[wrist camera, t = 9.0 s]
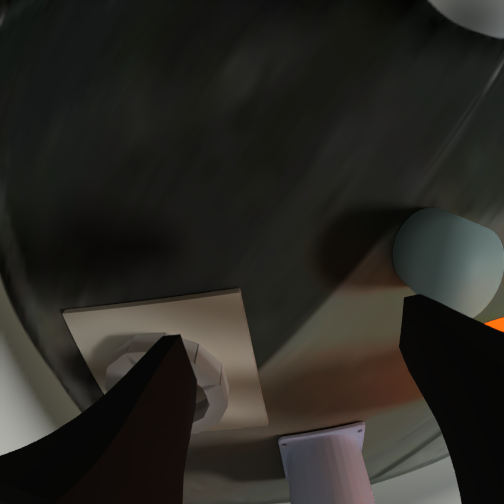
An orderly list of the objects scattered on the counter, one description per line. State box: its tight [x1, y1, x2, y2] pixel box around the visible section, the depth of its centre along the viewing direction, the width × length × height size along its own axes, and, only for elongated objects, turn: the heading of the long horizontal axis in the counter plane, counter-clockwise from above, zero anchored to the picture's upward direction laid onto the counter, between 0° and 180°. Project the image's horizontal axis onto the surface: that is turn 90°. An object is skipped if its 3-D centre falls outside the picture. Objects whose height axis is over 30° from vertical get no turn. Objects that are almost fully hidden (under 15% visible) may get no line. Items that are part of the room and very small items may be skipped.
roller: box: [393, 208, 504, 318], centre depth 16 cm, size 6×6×5 cm
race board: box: [62, 288, 269, 434], centre depth 21 cm, size 13×13×3 cm
